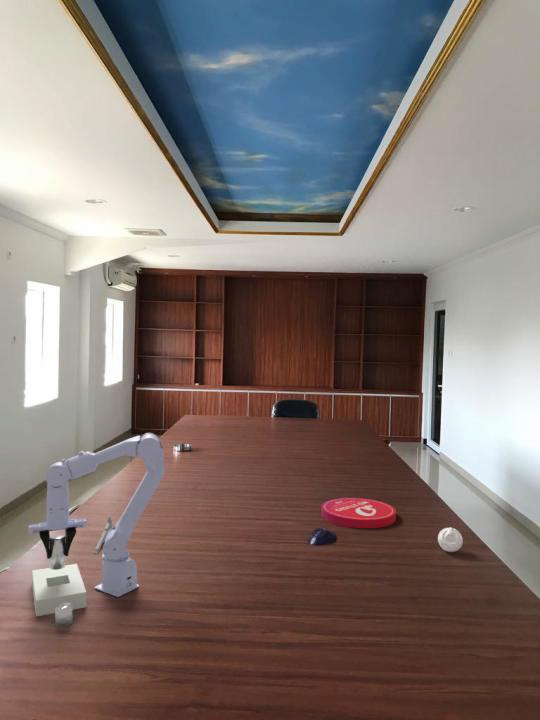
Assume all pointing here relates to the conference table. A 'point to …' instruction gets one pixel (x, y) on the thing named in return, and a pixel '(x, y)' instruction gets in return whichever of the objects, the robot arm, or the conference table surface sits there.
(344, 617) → the conference table surface
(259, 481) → the conference table surface
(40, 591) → the pin board
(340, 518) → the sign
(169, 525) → the conference table surface
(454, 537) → the white ball
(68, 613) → the short pin
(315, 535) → the computer mouse
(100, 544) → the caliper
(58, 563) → the tall pin
